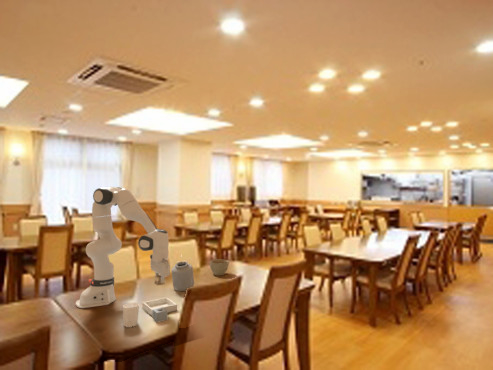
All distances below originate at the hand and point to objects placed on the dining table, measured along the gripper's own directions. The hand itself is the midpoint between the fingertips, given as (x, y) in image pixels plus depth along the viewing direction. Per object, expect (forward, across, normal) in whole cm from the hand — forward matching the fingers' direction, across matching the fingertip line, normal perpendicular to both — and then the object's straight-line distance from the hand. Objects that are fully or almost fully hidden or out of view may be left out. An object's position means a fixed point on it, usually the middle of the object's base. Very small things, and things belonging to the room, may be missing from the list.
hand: (159, 280), depth 188 cm
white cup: (+17, -12, +20) cm, 29 cm away
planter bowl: (+17, +46, -72) cm, 87 cm away
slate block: (+17, -14, +5) cm, 22 cm away
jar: (+17, +26, -28) cm, 42 cm away
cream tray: (+17, 0, 0) cm, 17 cm away
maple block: (+2, 0, 0) cm, 2 cm away
